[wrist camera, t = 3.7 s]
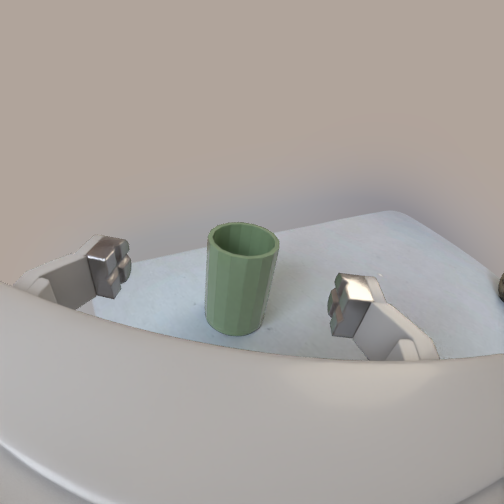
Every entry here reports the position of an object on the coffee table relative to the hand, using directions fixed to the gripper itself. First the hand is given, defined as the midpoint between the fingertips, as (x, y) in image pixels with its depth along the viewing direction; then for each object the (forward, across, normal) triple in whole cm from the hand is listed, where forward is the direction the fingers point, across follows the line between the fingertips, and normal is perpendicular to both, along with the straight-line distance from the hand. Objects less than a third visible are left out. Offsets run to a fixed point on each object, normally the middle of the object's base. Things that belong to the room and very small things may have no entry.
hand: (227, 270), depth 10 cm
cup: (+12, 0, +14) cm, 19 cm away
